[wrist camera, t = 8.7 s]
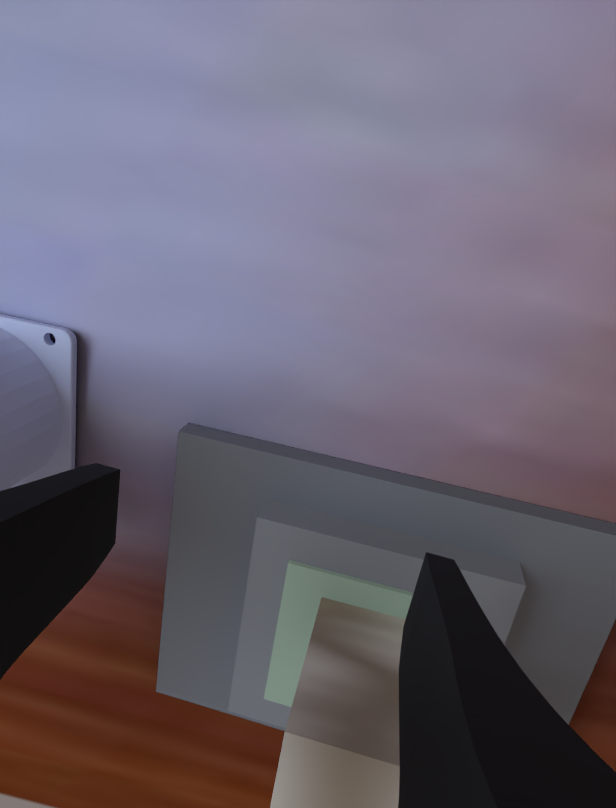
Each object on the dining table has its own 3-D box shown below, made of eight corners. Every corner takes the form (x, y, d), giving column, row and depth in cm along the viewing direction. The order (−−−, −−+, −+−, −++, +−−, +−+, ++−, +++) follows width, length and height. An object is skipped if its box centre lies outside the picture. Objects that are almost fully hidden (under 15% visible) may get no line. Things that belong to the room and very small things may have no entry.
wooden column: (305, 675, 23) (266, 825, 17) (321, 597, 21) (284, 731, 16) (402, 703, 22) (394, 867, 17) (425, 624, 21) (425, 774, 15)
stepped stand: (164, 675, 28) (139, 720, 25) (188, 422, 23) (159, 448, 21) (528, 785, 26) (539, 847, 23) (639, 529, 21) (668, 572, 18)
